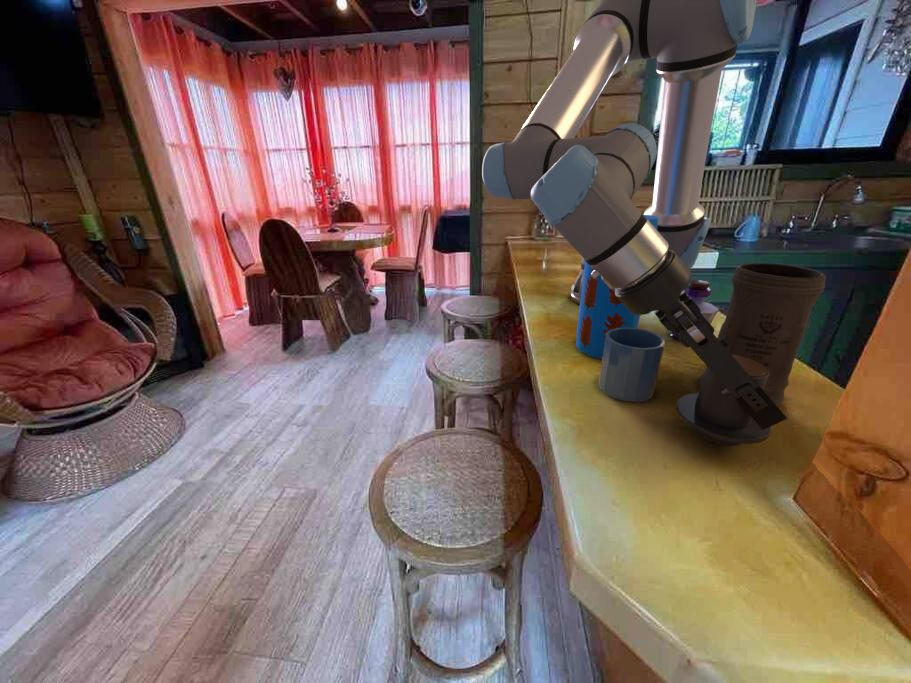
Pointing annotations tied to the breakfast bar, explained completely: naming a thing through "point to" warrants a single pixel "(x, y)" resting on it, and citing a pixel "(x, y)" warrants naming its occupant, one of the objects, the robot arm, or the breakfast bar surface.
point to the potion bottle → (701, 299)
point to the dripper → (723, 409)
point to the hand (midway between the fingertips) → (759, 405)
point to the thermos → (601, 311)
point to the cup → (630, 363)
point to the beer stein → (770, 317)
